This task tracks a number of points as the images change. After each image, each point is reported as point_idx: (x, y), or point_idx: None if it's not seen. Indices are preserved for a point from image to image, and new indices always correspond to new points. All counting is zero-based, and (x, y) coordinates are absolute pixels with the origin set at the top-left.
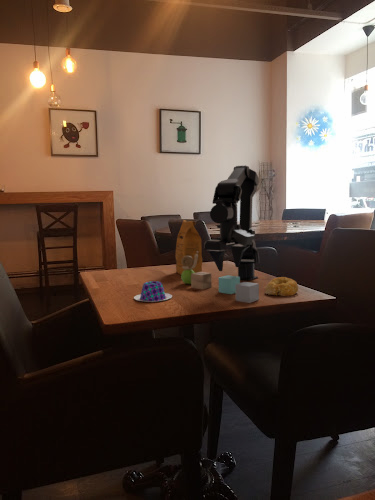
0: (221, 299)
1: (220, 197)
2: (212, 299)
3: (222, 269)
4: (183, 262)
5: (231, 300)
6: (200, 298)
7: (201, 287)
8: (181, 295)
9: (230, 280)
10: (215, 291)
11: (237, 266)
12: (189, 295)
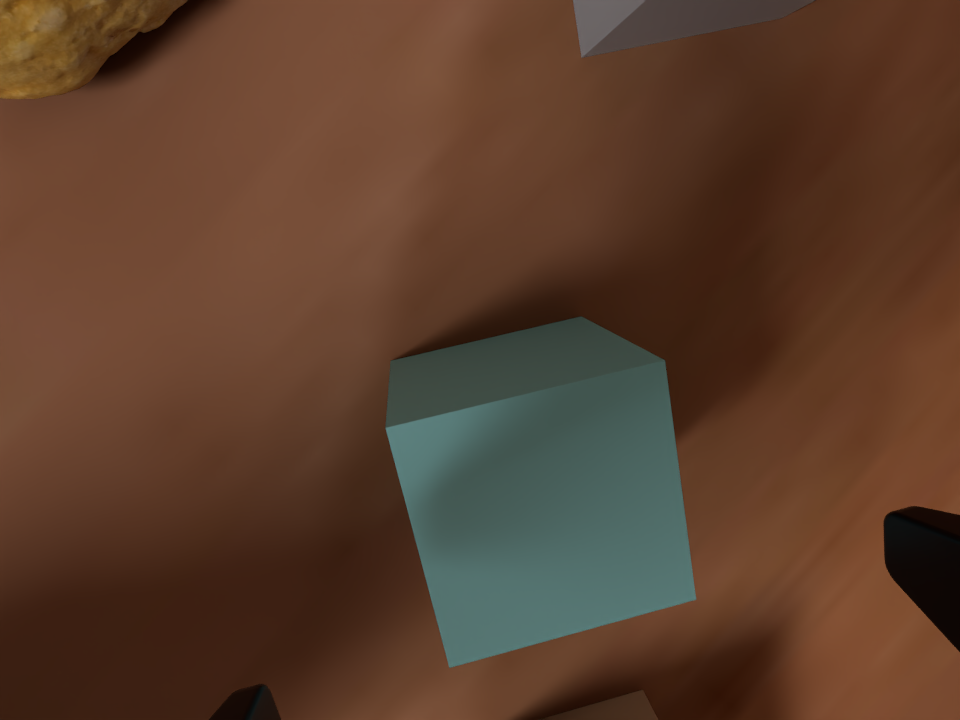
0: (843, 188)
1: None
2: (902, 259)
3: (921, 520)
4: None
5: (808, 61)
6: (941, 380)
7: (654, 716)
8: None
9: (654, 365)
10: None
11: (268, 712)
12: None
